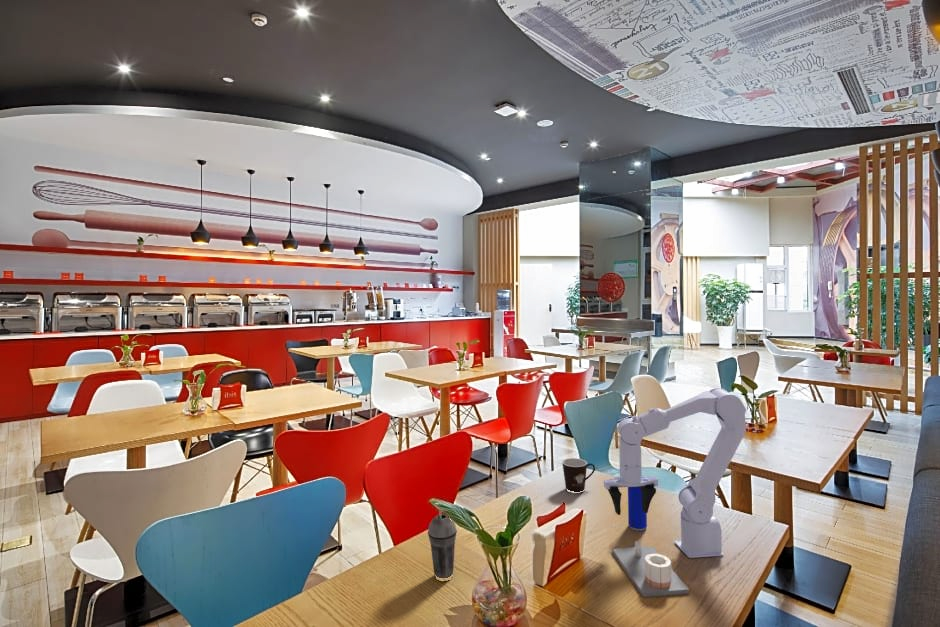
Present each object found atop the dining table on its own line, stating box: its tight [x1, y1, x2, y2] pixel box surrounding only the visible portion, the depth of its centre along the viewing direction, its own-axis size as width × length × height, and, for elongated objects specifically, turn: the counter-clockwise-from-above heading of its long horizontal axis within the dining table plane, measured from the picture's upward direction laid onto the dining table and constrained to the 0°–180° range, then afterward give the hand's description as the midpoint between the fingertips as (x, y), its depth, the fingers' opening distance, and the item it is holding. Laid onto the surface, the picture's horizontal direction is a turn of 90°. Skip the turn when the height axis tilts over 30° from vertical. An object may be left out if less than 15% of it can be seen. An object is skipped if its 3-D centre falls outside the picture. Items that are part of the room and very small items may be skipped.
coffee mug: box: [561, 457, 596, 492], centre depth 168 cm, size 12×9×10 cm
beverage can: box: [627, 486, 648, 531], centre depth 141 cm, size 5×5×15 cm
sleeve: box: [645, 553, 672, 588], centre depth 113 cm, size 6×6×5 cm
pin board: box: [611, 540, 690, 598], centre depth 118 cm, size 19×11×4 cm, turn 4°
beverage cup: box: [427, 499, 458, 578], centre depth 118 cm, size 7×7×20 cm
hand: (631, 512), depth 130 cm, fingers open, 7 cm apart
